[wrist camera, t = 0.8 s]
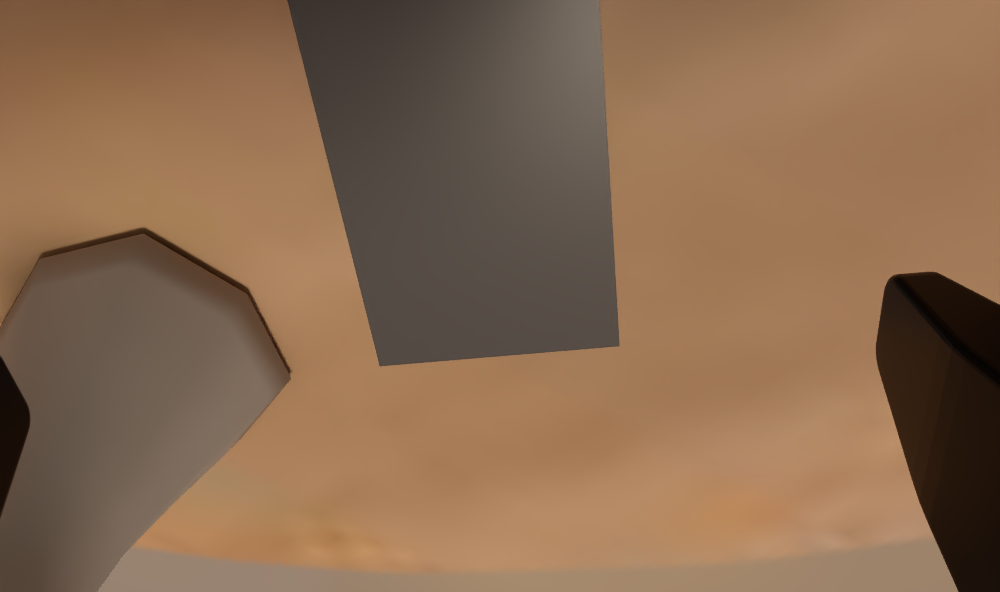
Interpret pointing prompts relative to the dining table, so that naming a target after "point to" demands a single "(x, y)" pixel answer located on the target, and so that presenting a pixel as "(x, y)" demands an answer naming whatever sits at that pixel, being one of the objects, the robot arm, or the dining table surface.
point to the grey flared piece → (121, 402)
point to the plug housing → (468, 170)
